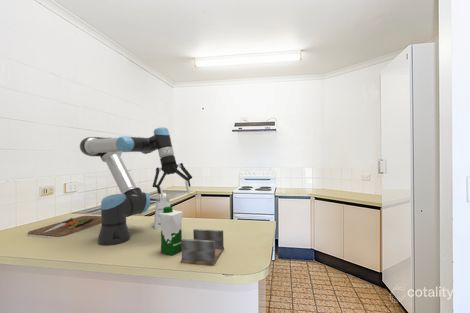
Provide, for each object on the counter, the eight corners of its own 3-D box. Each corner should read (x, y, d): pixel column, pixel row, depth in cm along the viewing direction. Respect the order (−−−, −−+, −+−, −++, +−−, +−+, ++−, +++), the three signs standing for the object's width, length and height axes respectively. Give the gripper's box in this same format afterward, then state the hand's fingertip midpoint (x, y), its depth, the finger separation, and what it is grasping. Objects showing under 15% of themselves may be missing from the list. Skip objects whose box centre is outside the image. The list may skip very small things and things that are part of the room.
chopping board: (57, 239, 132) (57, 234, 132) (20, 236, 138) (19, 230, 138) (117, 218, 175) (116, 213, 175) (86, 216, 182) (86, 212, 182)
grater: (171, 222, 160) (170, 192, 159) (172, 227, 150) (172, 194, 150) (154, 224, 156) (153, 193, 156) (154, 229, 146) (154, 195, 146)
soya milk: (172, 246, 118) (171, 205, 118) (186, 250, 113) (185, 207, 113) (157, 252, 110) (156, 208, 110) (171, 257, 106) (171, 211, 105)
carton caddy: (180, 262, 100) (180, 241, 100) (195, 247, 116) (195, 228, 116) (213, 265, 97) (213, 243, 97) (224, 249, 114) (223, 229, 113)
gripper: (142, 159, 118) (152, 202, 115) (191, 151, 129) (201, 189, 127) (141, 162, 124) (150, 203, 121) (188, 154, 136) (197, 191, 133)
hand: (176, 196), depth 124 cm, fingers open, 13 cm apart
